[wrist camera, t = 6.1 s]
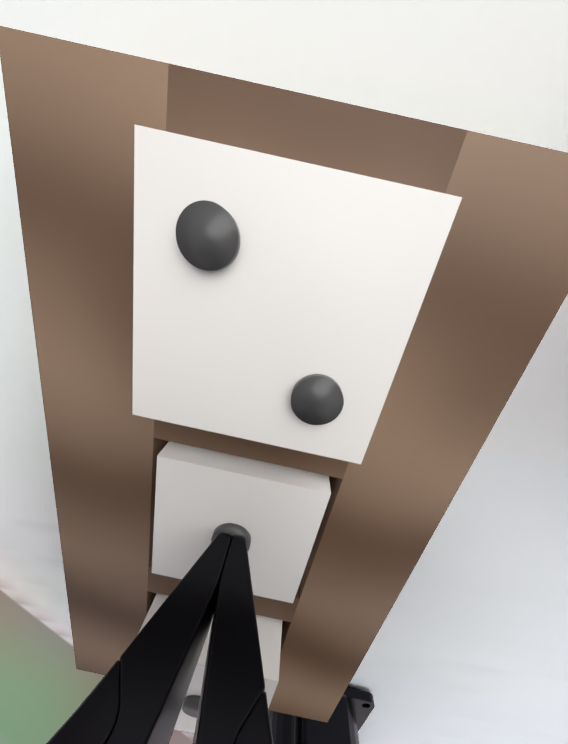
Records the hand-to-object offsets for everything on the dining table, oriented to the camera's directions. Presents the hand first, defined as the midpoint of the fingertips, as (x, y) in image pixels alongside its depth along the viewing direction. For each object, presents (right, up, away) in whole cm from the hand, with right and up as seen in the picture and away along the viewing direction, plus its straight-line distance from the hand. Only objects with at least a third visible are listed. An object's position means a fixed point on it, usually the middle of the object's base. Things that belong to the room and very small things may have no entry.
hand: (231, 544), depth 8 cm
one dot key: (0, +1, +2) cm, 2 cm away
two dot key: (+1, +7, -2) cm, 7 cm away
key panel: (0, +1, +3) cm, 4 cm away
